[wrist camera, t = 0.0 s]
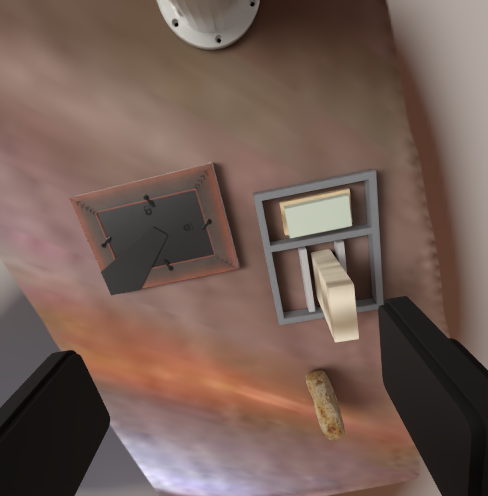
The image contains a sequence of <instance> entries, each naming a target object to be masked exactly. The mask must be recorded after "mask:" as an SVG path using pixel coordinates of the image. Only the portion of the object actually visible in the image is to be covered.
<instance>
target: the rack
mask: <svg viewBox="0 0 488 496" xmlns="http://www.w3.org/2000/svg"><path fill="white" fill-rule="evenodd" d="M363 180H364V186H365V200H366V215H367V224H363V225H357V226H352V227H347V228H341V229H336V230H330V231H325V232H320V233H315V234H310V235H305V236H300V237H295V238H288V239H282V240H277V241H272V242H270V241H269V236H268V231H267V225H266V220H265V215H264V210H263V204H262V201H263V200H268V199H273V198H278V197H283V196H288V195H293V194H298V193H303V192H308V191H313V190H318V189H323V188H328V187H333V186H338V185H343V184H348V183H353V182H358V181H363ZM253 196H254V201H255V206H256V211H257V216H258V221H259V226H260V231H261V236H262V241H263V246H264V251H265V256H266V261H267V266H268V271H269V276H270V282H271V287H272V292H273V297H274V302H275V307H276V312H277V317H278V322H279V325H282V324H288V323H295V322H301V321H307V320H314V319H320V318H325V316H324V313H323V311H322V308H321V306H319V307H315V306H314V299H313V292H312V285H311V278H310V272H309V265H308V258H307V251H306V248H305V246H308V245H314V244H319V243H325V242H330V241H334V247H335V256H336V259H337V261H338V262H339V263H340V265H341V266H342V268H343V269H344V271H345V272H346V273H347V269H346V259H345V249H344V242H343V241H342V240H341V239H347V238H352V237H358V236H363V235H368V243H369V257H370V271H371V285H372V298H368V299H362V300H356V301H355V303H356V313H358V312H364V311H370V310H377V309H378V307H379V306H380V305H384V303H383V286H382V268H381V250H380V233H379V215H378V197H377V180H376V170H372V169H368V170H364V171H359V172H354V173H349V174H344V175H339V176H334V177H329V178H324V179H319V180H315V181H310V182H305V183H300V184H295V185H290V186H285V187H280V188H275V189H270V190H266V191H261V192H256V193H253ZM292 248H298V251H299V257H300V264H301V270H302V277H303V283H304V289H305V296H306V302H307V307H308V308H306V309H300V310H294V311H288V312H283V310H282V305H281V299H280V294H279V289H278V283H277V278H276V273H275V268H274V262H273V257H272V252H276V251H281V250H287V249H292Z"/></svg>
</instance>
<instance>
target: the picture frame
mask: <svg viewBox="0 0 488 496" xmlns="http://www.w3.org/2000/svg"><path fill="white" fill-rule="evenodd" d="M70 200H71V203H72V205H73V207H74V210H75V212H76V214H77V217H78V219H79V221H80V223H81V226H82V228H83V230H84V233H85V235H86V237H87V239H88V242H89V244H90V246H91V249H92V251H93V253H94V255H95V258H96V260H97V262H98V265H99V267H100V269H101V273H102V275H103V278H104V280H105V282H106V284H107V287H108V289H109V291H110V294H111V295H115V294H120V293H125V292H130V291H135V290H140V289H143V288H148V287H152V286H157V285H162V284H167V283H172V282H177V281H182V280H187V279H192V278H197V277H202V276H206V275H211V274H216V273H221V272H226V271H231V270H236V269H239V262H238V258H237V254H236V250H235V247H234V243H233V239H232V235H231V231H230V227H229V223H228V220H227V216H226V212H225V208H224V204H223V200H222V197H221V193H220V189H219V185H218V181H217V177H216V173H215V170H214V166H213V162H212V163H208V164H204V165H199V166H195V167H191V168H187V169H183V170H179V171H175V172H171V173H167V174H163V175H159V176H155V177H151V178H147V179H143V180H139V181H135V182H131V183H127V184H122V185H118V186H114V187H110V188H106V189H102V190H98V191H94V192H90V193H86V194H82V195H78V196H74V197H71V198H70Z"/></svg>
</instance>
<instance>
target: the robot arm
mask: <svg viewBox="0 0 488 496" xmlns="http://www.w3.org/2000/svg"><path fill="white" fill-rule="evenodd" d="M157 2H158V5H159V8H160V11H161V13H162V15H163V17H164V19H165V21H166V22H167V24H168V25H169V27H170V28H171V29H172V30H173V32H174V33H175V34H176V35H177V36H178V37H179V38H180V39H182V40H183V41H184V42H186V43H187V44H189V45H191V46H193V47H196V48H200V49H204V50H216V49H221V48H225V47H227V46H229V45H231V44H233V43H234V42H236V41H237V40H239V39H240V38H241V37H242V36H243V35H244V34H245V33H246V32H247V30H248V29H249V27H250V26H251V24H252V23H253V21H254V18H255V16H256V14H257V11H258V8H259V3H260V0H157ZM251 3H254V7H251V6H250V4H251ZM176 23H178V26H177V27H175V24H176ZM219 39H220V40H221V43H218V42H217V41H218V40H219ZM378 314H379V330H380V346H381V361H382V377H383V382H384V386H385V388H386V391H387V393H388V395H389V396H390V398H391V400H392V402H393V404H394V406H395V408H396V410H397V412H398V413H399V415H400V417H401V419H402V421H403V423H404V425H405V427H406V429H407V430H408V432H409V434H410V436H411V438H412V440H413V442H414V444H415V446H416V447H417V449H418V451H419V453H420V455H421V457H422V459H423V461H424V463H425V464H426V466H427V468H428V470H429V472H430V474H431V475H432V478H433V479H434V481H435V483H436V485H437V487H438V489H439V491H440V493H441V495H442V496H488V370H487V369H486V368H485V367H484V366H483V365H482V364H481V363H480V362H479V361H478V360H477V359H476V358H475V357H474V356H473V355H472V354H471V353H470V352H469V351H468V350H467V349H466V348H465V347H464V346H463V345H462V344H461V343H459V342H458V341H457V340H455V339H452V338H450V339H448V338H447V337H446V336H445V335H444V334H443V333H442V332H441V331H440V329H439V328H438V327H437V326H436V325H435V324H434V323H433V322H432V321H431V320H430V319H429V318H428V317H427V316H426V315H425V314H424V313H423V312H422V311H421V310H420V309H419V308H418V307H417V306H416V305H415V304H414V303H413V302H412V301H411V300H410V299H409V298H408V297H407V296H403V297H397V298H391V299H385V300H384V305H380V306H379V307H378ZM109 424H110V416H109V413H108V411H107V409H106V407H105V405H104V403H103V400H102V398H101V396H100V394H99V392H98V390H97V388H96V386H95V384H94V382H93V380H92V378H91V376H90V374H89V372H88V369H87V367H86V365H85V363H84V361H83V359H82V357H81V356H80V355H79V354H77V353H76V352H75V351H73V350H68V351H62V352H56V353H52V354H51V355H50V356H49V357H48V358H47V359H46V360H45V361H44V362H43V363H42V364H41V365H40V366H39V367H38V368H37V369H36V370H35V372H34V373H33V374H32V375H31V376H30V377H29V378H28V379H27V380H26V381H25V382H24V383H23V384H22V385H21V386H20V388H19V389H18V390H17V391H16V392H15V393H14V394H13V395H12V396H11V397H10V398H9V399H8V400H7V401H6V402H5V403H4V405H3V406H2V407H1V408H0V496H74V495H75V494H76V492H77V490H78V487H79V486H80V483H81V482H82V480H83V477H84V476H85V473H86V472H87V470H88V468H89V465H90V464H91V462H92V460H93V458H94V456H95V453H96V452H97V450H98V448H99V446H100V444H101V442H102V440H103V438H104V436H105V434H106V432H107V430H108V427H109Z"/></svg>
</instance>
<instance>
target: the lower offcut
mask: <svg viewBox="0 0 488 496" xmlns="http://www.w3.org/2000/svg"><path fill="white" fill-rule="evenodd" d="M343 193H345V194H347V195H349V202H350V212H351V221H352V211H351V199H350V189H348V188H343V189H338V190H333V191H328V192H323V193H318V194H313V195H308V196H303V197H298V198H293V199H288V200H283V201H279V204H280V210H281V216H282V222H283V227H284V233H285V235H289V234H288V228H287V223H286V217H285V212H284V206H286V205H291V204H296V203H300V202H305V201H310V200H314V199H319V198H324V197H329V196H333V195H338V194H343ZM352 223H353V222H352Z"/></svg>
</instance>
